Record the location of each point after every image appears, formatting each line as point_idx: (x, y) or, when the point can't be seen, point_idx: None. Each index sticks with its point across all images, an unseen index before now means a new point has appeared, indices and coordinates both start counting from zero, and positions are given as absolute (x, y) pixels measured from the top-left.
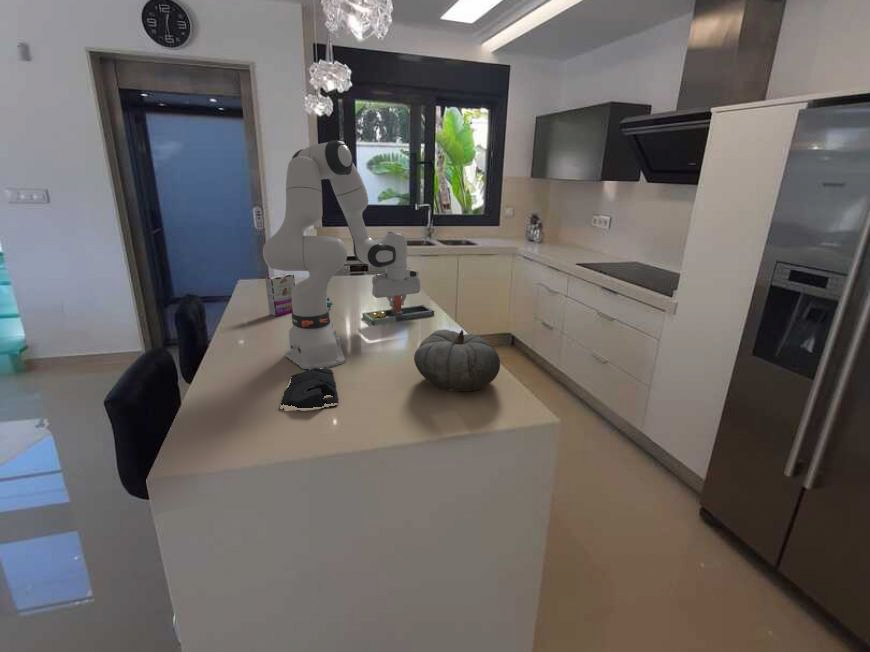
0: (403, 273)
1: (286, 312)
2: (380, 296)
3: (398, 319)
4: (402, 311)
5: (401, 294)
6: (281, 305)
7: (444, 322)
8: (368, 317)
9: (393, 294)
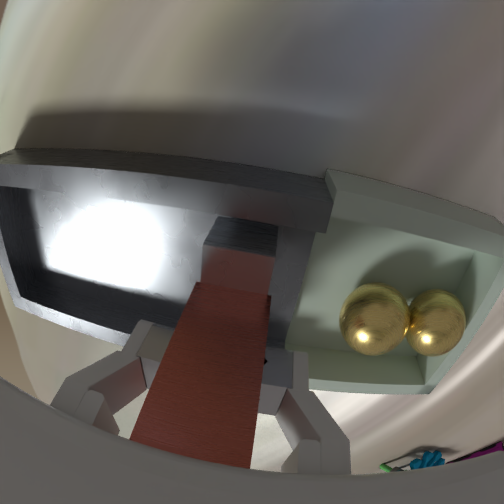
0: None
1: (477, 454)
2: (486, 468)
3: (292, 182)
4: (203, 244)
5: (121, 447)
6: None
7: (11, 37)
8: (487, 314)
9: (290, 499)
